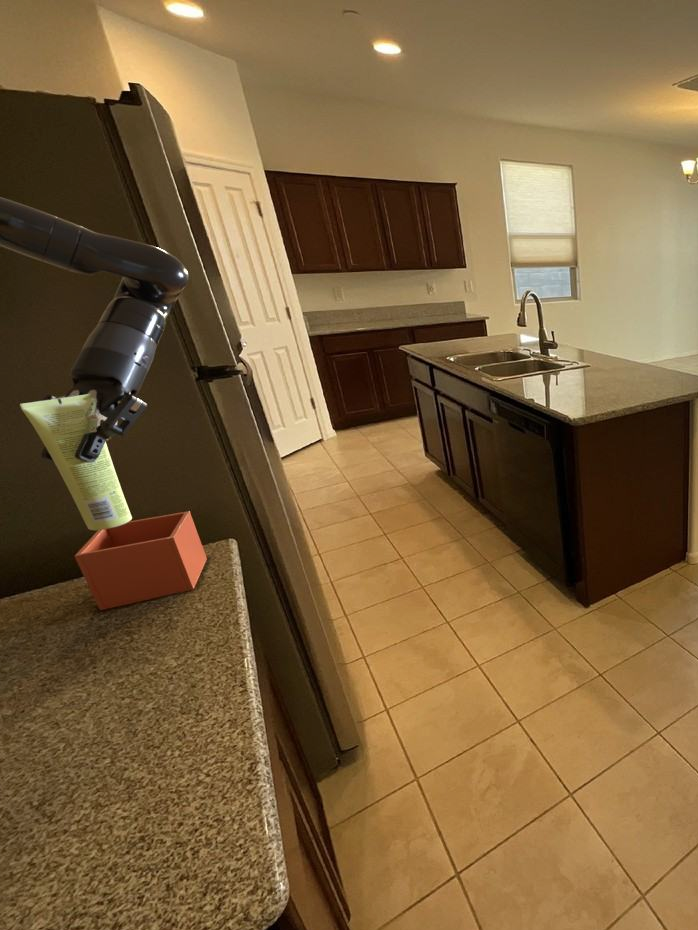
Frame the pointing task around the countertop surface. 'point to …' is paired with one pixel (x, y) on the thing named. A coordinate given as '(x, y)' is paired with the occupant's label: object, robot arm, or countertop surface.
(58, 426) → the tube
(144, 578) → the trash bin
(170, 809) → the countertop surface
